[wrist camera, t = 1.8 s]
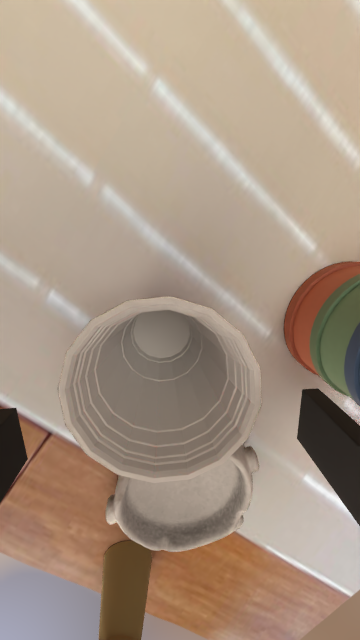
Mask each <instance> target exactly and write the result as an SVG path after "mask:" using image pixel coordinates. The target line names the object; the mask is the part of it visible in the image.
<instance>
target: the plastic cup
mask: <svg viewBox="0 0 360 640" xmlns="http://www.w3.org/2000/svg"><path fill="white" fill-rule="evenodd" d="M58 393H59V398H60V402H61V407H62V412H63V416H64V421H65V425H66V427H67V428H68V429H69V431H70V432H71V434H72V435H73V436H74V438H75V439H76V441H77V442H78V443H79V445H80V446H81V448H82V449H83V450H84V452H85V453H86V455H88V456H89V457H91V458H92V459H94V460H96V461H97V462H99V463H100V464H102V465H103V466H105V467H106V468H108V469H109V470H111V471H112V472H114V473H116V474H117V475H121V476H125V477H129V478H134V479H138V480H142V481H146V482H151V483H159V482H169V481H179V480H189V479H192V478H194V477H196V476H198V475H200V474H203V473H205V472H207V471H209V470H211V469H213V468H215V467H217V466H220V465H222V464H223V463H224V462H225V461H226V460H227V459H228V458H229V457H230V456H231V455H232V454H233V453H234V452H235V451H236V450H237V449H238V448H239V447H240V446H241V445H242V444H243V443H244V442H245V441H246V440H247V439H248V437H249V435H250V432H251V430H252V427H253V425H254V422H255V420H256V418H257V415H258V413H259V410H260V408H261V372H260V367H259V365H258V363H257V361H256V359H255V357H254V355H253V353H252V351H251V349H250V347H249V345H248V343H247V341H246V339H245V337H244V335H243V334H242V333H241V332H240V331H239V330H237V329H236V328H235V327H234V326H233V325H231V324H230V323H229V322H228V321H227V320H225V319H224V318H223V317H222V316H221V315H219V314H218V313H217V312H216V311H215V310H213V309H212V308H209V307H206V306H202V305H199V304H196V303H192V302H189V301H186V300H182V299H179V298H176V297H172V296H167V297H157V298H147V299H137V300H128V301H126V302H124V303H122V304H120V305H118V306H116V307H115V308H113V309H111V310H109V311H107V312H105V313H103V314H102V315H100V316H98V317H96V318H94V319H92V320H91V321H90V322H89V323H88V324H87V326H86V327H85V328H84V330H83V331H82V332H81V333H80V335H79V336H78V337H77V339H76V340H75V341H74V343H73V344H72V345H71V346H70V348H69V349H68V350H67V352H66V355H65V359H64V363H63V368H62V372H61V377H60V381H59V385H58Z"/></svg>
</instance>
